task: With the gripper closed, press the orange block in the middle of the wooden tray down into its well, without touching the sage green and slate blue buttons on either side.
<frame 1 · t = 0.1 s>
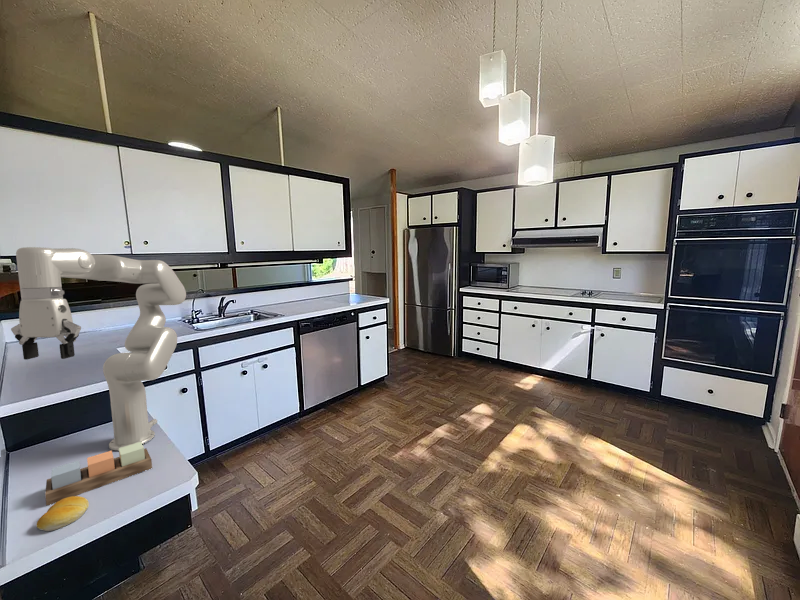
hand: (49, 357, 90), 37 cm above the countertop, tool pointing down, fingers open, 9 cm apart
slate button: (66, 475, 91), point 4 cm above the countertop, slide at 0.0 cm
sage button: (131, 454, 101), point 4 cm above the countertop, slide at 0.0 cm
bread roll: (64, 518, 81), on the countertop
orange block: (101, 464, 96), point 4 cm above the countertop, slide at 0.0 cm
wooden tray: (102, 478, 96), on the countertop
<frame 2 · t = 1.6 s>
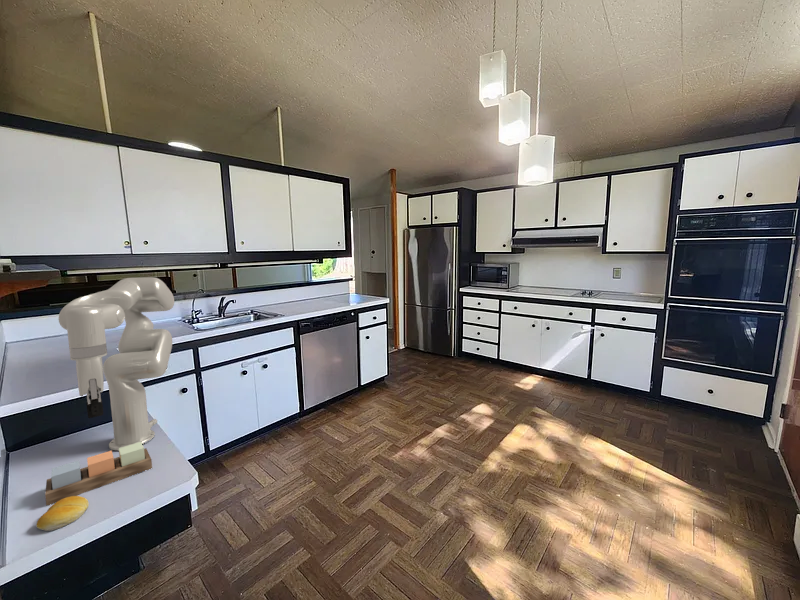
hand: (95, 415, 94), 19 cm above the countertop, tool pointing down, fingers closed
nothing on the countertop moved.
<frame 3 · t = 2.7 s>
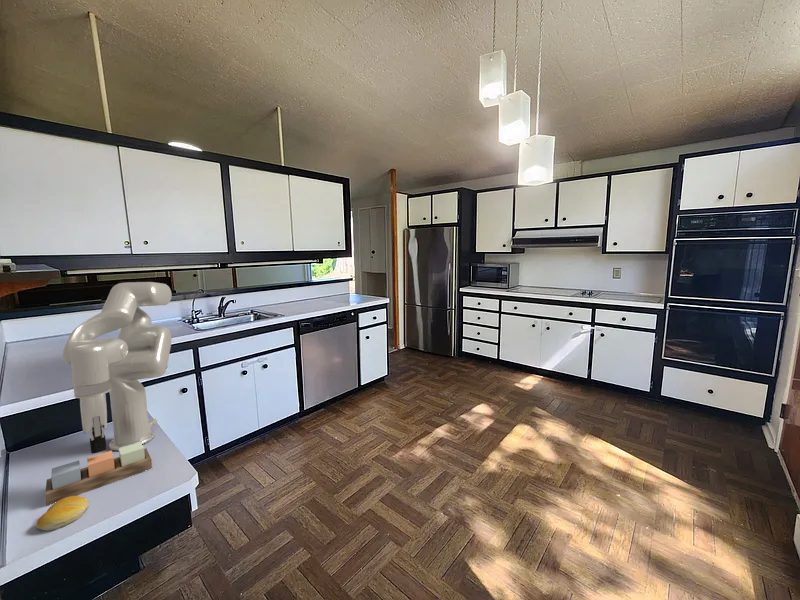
hand: (98, 450, 95), 9 cm above the countertop, tool pointing down, fingers closed
nothing on the countertop moved.
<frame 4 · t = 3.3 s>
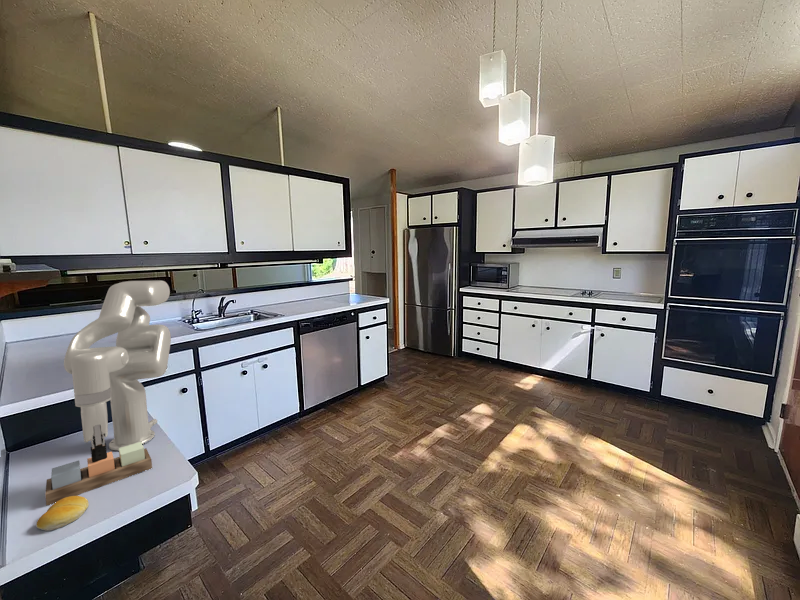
hand: (99, 459, 95), 6 cm above the countertop, tool pointing down, fingers closed
orange block: (101, 465, 96), point 4 cm above the countertop, slide at 0.3 cm, touching gripper
everything else where it was.
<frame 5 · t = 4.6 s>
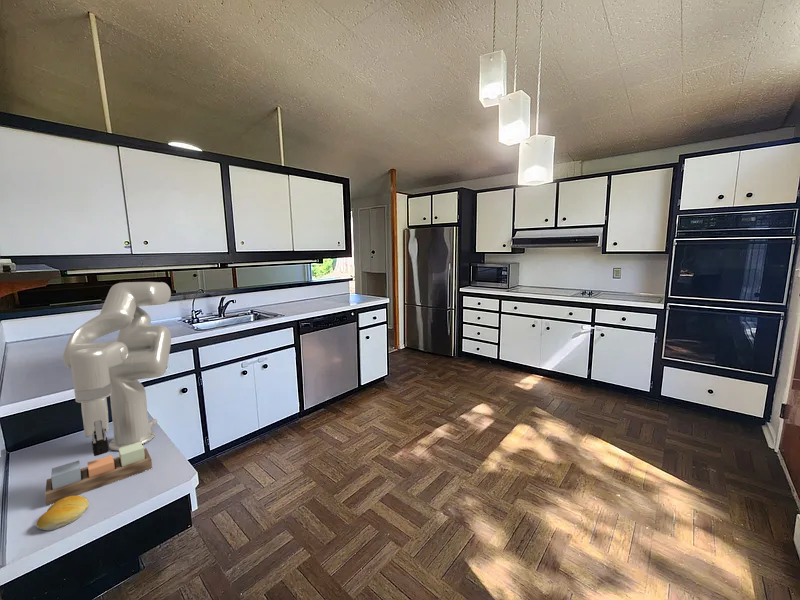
hand: (101, 453, 96), 7 cm above the countertop, tool pointing down, fingers closed
orange block: (101, 468, 96), point 3 cm above the countertop, slide at 1.4 cm
everything else where it was.
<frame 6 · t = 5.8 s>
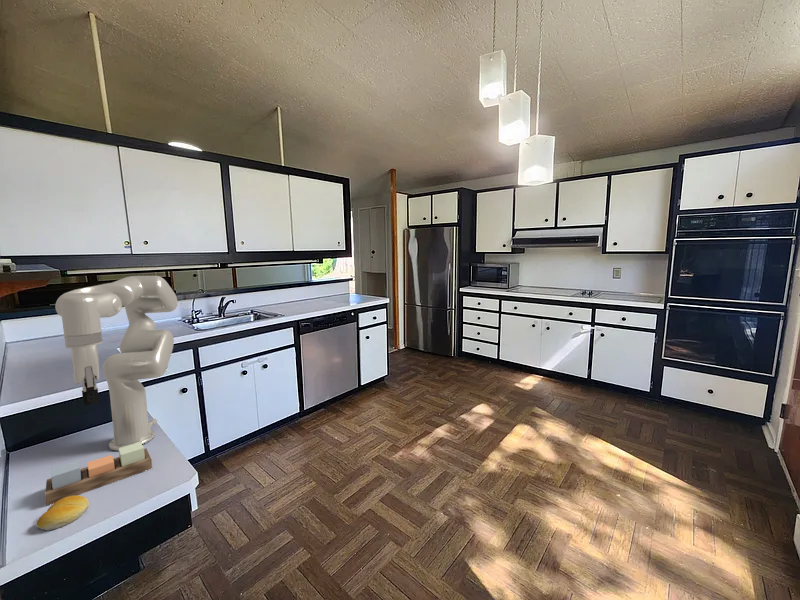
hand: (91, 403, 95), 22 cm above the countertop, tool pointing down, fingers closed
nothing on the countertop moved.
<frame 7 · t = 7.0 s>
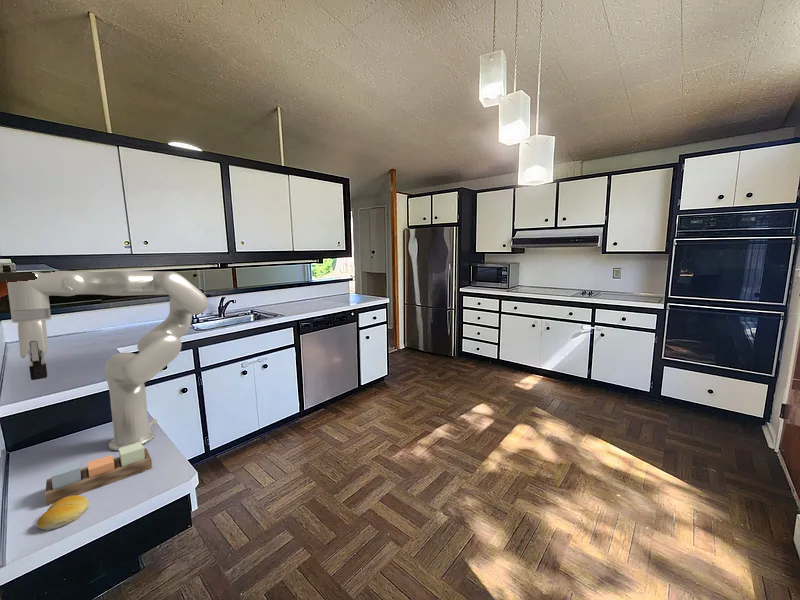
hand: (39, 378, 96), 29 cm above the countertop, tool pointing down, fingers closed
nothing on the countertop moved.
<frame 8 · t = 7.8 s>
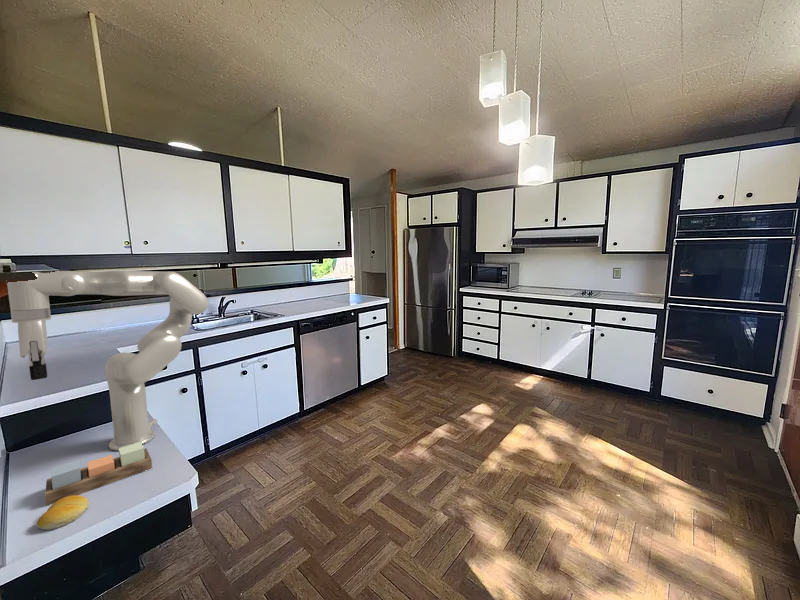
hand: (39, 378, 96), 29 cm above the countertop, tool pointing down, fingers closed
nothing on the countertop moved.
at the end: orange block slide at 1.4 cm; sage button slide at 0.0 cm; slate button slide at 0.0 cm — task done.
